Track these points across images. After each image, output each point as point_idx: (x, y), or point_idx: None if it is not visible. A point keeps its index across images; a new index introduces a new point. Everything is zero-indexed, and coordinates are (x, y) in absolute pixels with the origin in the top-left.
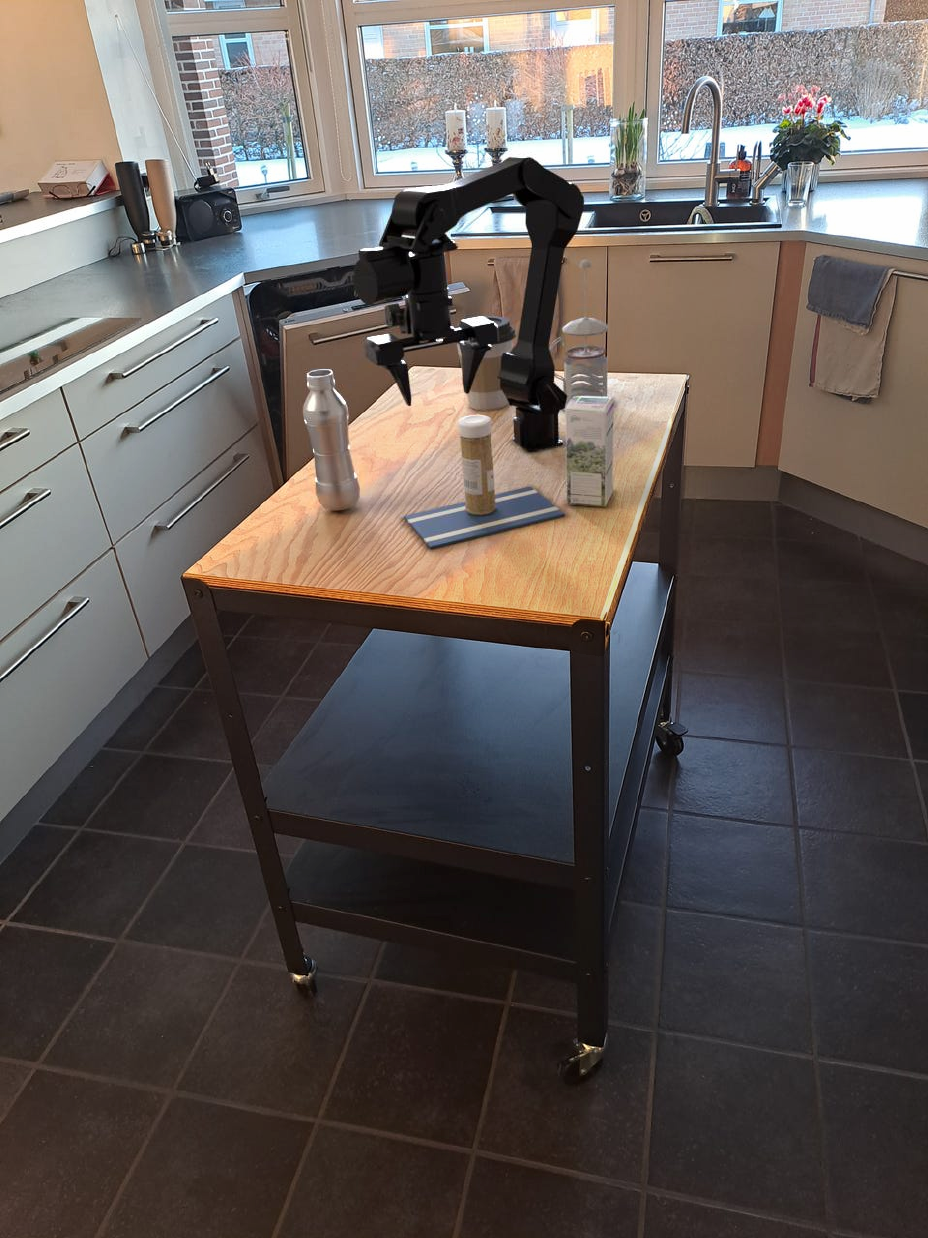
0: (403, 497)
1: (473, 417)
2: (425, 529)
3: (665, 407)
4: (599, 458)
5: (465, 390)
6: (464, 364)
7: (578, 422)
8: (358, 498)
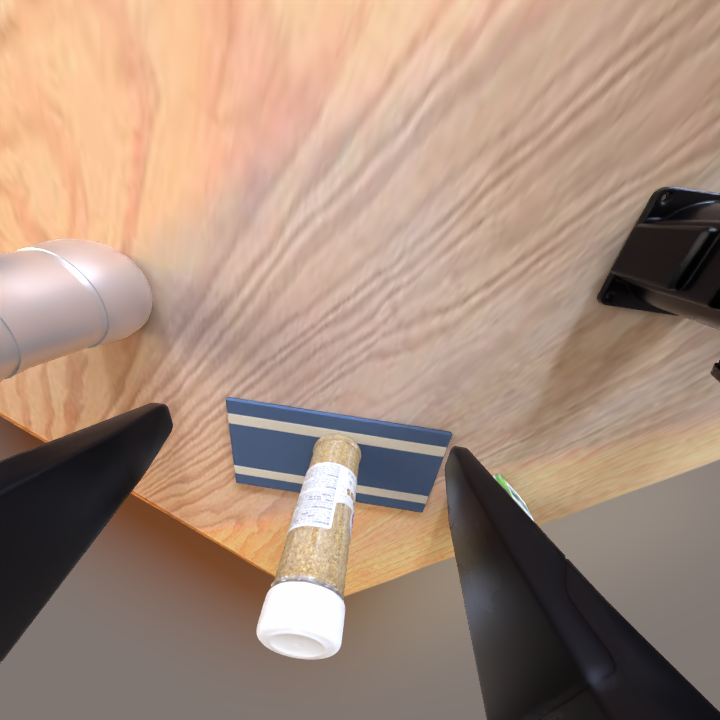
0: (248, 326)
1: (302, 637)
2: (243, 449)
3: None
4: None
5: (449, 470)
6: (517, 631)
7: None
8: (147, 320)
